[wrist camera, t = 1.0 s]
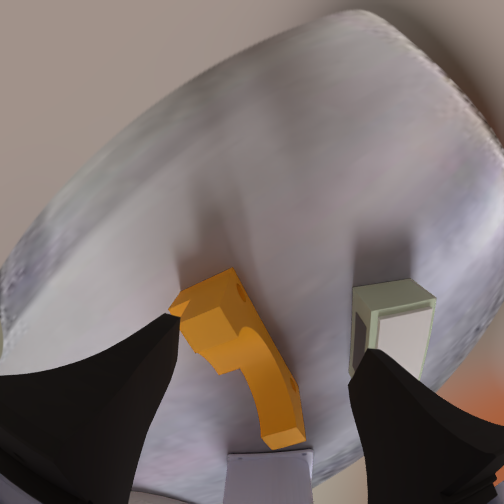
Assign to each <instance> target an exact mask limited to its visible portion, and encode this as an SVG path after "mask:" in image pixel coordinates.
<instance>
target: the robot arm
mask: <svg viewBox="0 0 504 504" xmlns="http://www.w3.org/2000/svg"><path fill="white" fill-rule="evenodd" d="M180 319H181V317H178V316H174V315H170V314H166V313H164V314H163V315H161V316H160V317H158V318H157V319H155V320H154V321H152V322H151V323H149V324H148V325H146V326H145V327H143V328H142V329H140V330H139V331H137V332H136V333H134V334H133V335H131V336H129V337H128V338H126V339H125V340H123V341H121V342H119V343H117V344H116V345H114V346H112V347H110V348H108V349H106V350H104V351H102V352H100V353H98V354H96V355H93V356H91V357H88V358H86V359H83V360H81V361H78V362H75V363H71V364H68V365H65V366H62V367H58V368H55V369H50V370H46V371H41V372H35V373H28V374H19V375H4V376H0V504H128V502H129V497H130V493H131V488H132V484H133V480H134V476H135V472H136V468H137V465H138V461H139V458H140V454H141V451H142V447H143V444H144V441H145V438H146V434H147V432H148V429H149V427H150V424H151V422H152V420H153V418H154V416H155V413H156V411H157V409H158V407H159V405H160V403H161V401H162V398H163V396H164V394H165V392H166V390H167V387H168V385H169V383H170V381H171V378H172V375H173V372H174V368H175V365H176V362H177V357H178V343H179V331H180ZM348 389H349V397H350V404H351V408H352V412H353V416H354V419H355V423H356V426H357V430H358V433H359V437H360V440H361V444H362V447H363V452H364V456H365V464H366V471H367V486H368V504H504V481H502V482H501V483H499V484H498V485H497V486H495V487H494V485H493V482H494V481H496V480H497V477H496V475H495V473H496V472H497V471H498V470H499V469H500V468H501V467H502V466H503V465H504V426H501V425H497V424H494V423H491V422H488V421H485V420H482V419H480V418H478V417H475V416H473V415H471V414H469V413H467V412H465V411H463V410H461V409H459V408H457V407H455V406H454V405H452V404H450V403H449V402H447V401H446V400H444V399H443V398H441V397H440V396H438V395H437V394H436V393H434V392H433V391H432V390H430V389H429V388H428V387H426V386H425V385H424V384H422V383H421V382H420V381H419V380H418V379H416V378H415V377H414V376H413V375H412V374H410V373H409V372H408V371H407V370H406V369H405V368H403V367H402V366H401V365H400V364H399V363H397V362H396V361H395V360H394V359H393V358H391V357H390V356H389V355H388V354H386V353H385V352H383V351H382V350H380V349H372V348H367V350H366V352H365V354H364V356H363V358H362V360H361V362H360V364H359V366H358V368H357V369H356V371H355V373H354V375H353V377H352V379H351V381H350V382H349V384H348ZM227 459H228V466H227V474H226V482H225V490H224V498H223V504H313V496H312V487H311V479H312V467H313V450H312V449H306V450H297V451H288V452H276V453H259V454H229V455H227Z"/></svg>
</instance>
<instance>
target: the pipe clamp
mask: <svg viewBox="0 0 504 504" xmlns="http://www.w3.org/2000/svg"><path fill="white" fill-rule="evenodd" d="M168 310H169V311H170V313H171V315H174V316H178V317H181V319H180V331H181V333H182V334H183V336H184V337H185V339H186V340H187V342H188V343H189V345H190V346H191V348H192V349H193V350H194V352H195V353H199V354H200V355H202V356H203V357H204V358H205V359H206V360H207V361H208V362H209V363H210V364H211V365H212V366H213V367H214V369H215V370H216V372H217V373H218V375H221V374H224V373H227V372H230V371H233V370H236V369H239V368H240V369H241V371H242V373H243V375H244V377H245V379H246V381H247V383H248V385H249V387H250V390H251V392H252V395H253V398H254V401H255V404H256V408H257V411H258V416H259V421H260V430H261V438H262V439H263V441H264V442H265V443H266V444H267V445H268V446H269V447H270V448H271V450H276V449H280V448H283V447H287V446H291V445H294V444H297V443H301V442H304V441H306V435H305V428H304V421H303V414H302V407H301V400H300V394H299V387H298V385H297V383H296V381H295V379H294V378H293V376H292V374H291V372H290V371H289V369H288V367H287V365H286V364H285V362H284V360H283V358H282V356H281V355H280V353H279V351H278V349H277V348H276V346H275V344H274V342H273V340H272V339H271V337H270V335H269V333H268V331H267V330H266V328H265V326H264V324H263V322H262V320H261V319H260V317H259V315H258V313H257V311H256V310H255V308H254V306H253V304H252V302H251V300H250V298H249V297H248V295H247V293H246V291H245V289H244V287H243V286H242V284H241V282H240V280H239V278H238V276H237V274H236V272H235V271H234V269H233V267H232V268H230V269H228V270H226V271H224V272H222V273H219V274H217V275H215V276H213V277H211V278H209V279H206V280H204V281H202V282H200V283H198V284H196V285H193V286H191V287H189V288H187V289H185V290H183V291H181V292H180V293H179V295H178V296H177V297H176V299H175V300H174V302H173V303H172V305H171V306H170V307H169V309H168Z"/></svg>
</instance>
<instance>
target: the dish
mask: <svg viewBox="0 0 504 504" xmlns="http://www.w3.org/2000/svg"><path fill="white" fill-rule="evenodd" d="M128 504H189V503H185V502H182V501H179V500H175V499H171V498H167V497H163V496H158V495H153V494H149V493H143V492H136V491H131V493H130V497H129V502H128Z"/></svg>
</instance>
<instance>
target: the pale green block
mask: <svg viewBox="0 0 504 504" xmlns="http://www.w3.org/2000/svg"><path fill="white" fill-rule="evenodd" d="M435 305H436V297H435V296H433V295H432V294H431V293H429V292H428V291H427V290H425V289H424V288H423V287H421V286H420V285H419V284H417V283H416V282H415V281H413V280H412V279H411V278H409V279H404V280H398V281H391V282H385V283H379V284H372V285H366V286H359V287H353V300H352V331H351V349H350V363H349V374H350V376H351V379H352V377H353V375H354V373H355V371H356V369H357V368H358V366H359V364H360V362H361V360H362V358H363V356H364V354H365V352H366V350H367V348H372V349H380V350H382V351H383V352H385V353H386V354H388V355H389V356H390V357H391V358H393V359H394V360H395V361H396V362H397V363H399V364H400V365H401V366H402V367H403V368H405V369H406V370H407V371H408V372H409V373H410V374H412V375H413V376H414V377H415V378H416V379H418V380H419V381H420V377H421V374H422V370H423V366H424V362H425V358H426V353H427V349H428V344H429V340H430V335H431V330H432V324H433V318H434V312H435Z"/></svg>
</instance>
